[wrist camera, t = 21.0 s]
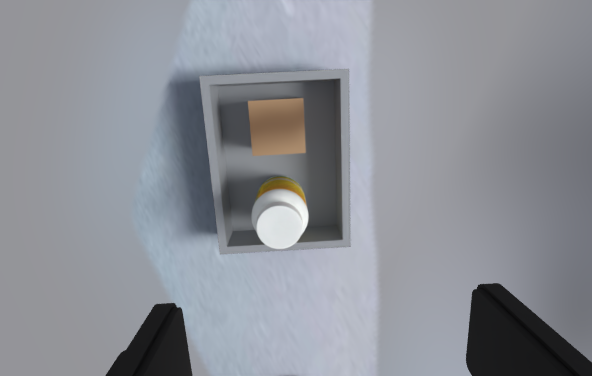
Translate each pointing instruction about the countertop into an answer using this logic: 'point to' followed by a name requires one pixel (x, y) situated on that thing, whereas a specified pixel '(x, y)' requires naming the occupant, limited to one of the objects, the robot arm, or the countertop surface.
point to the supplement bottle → (280, 212)
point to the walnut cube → (277, 126)
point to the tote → (301, 167)
